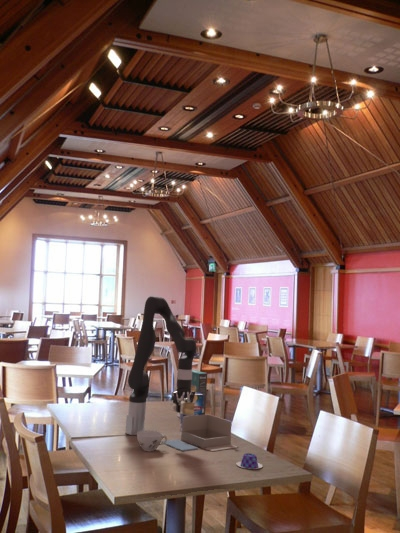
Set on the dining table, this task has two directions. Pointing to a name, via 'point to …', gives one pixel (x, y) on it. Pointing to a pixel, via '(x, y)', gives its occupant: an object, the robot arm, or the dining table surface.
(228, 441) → the carton
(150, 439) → the teacup
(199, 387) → the cake mix box
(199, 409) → the beverage box
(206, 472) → the dining table surface
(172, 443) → the mat
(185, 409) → the block
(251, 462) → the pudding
